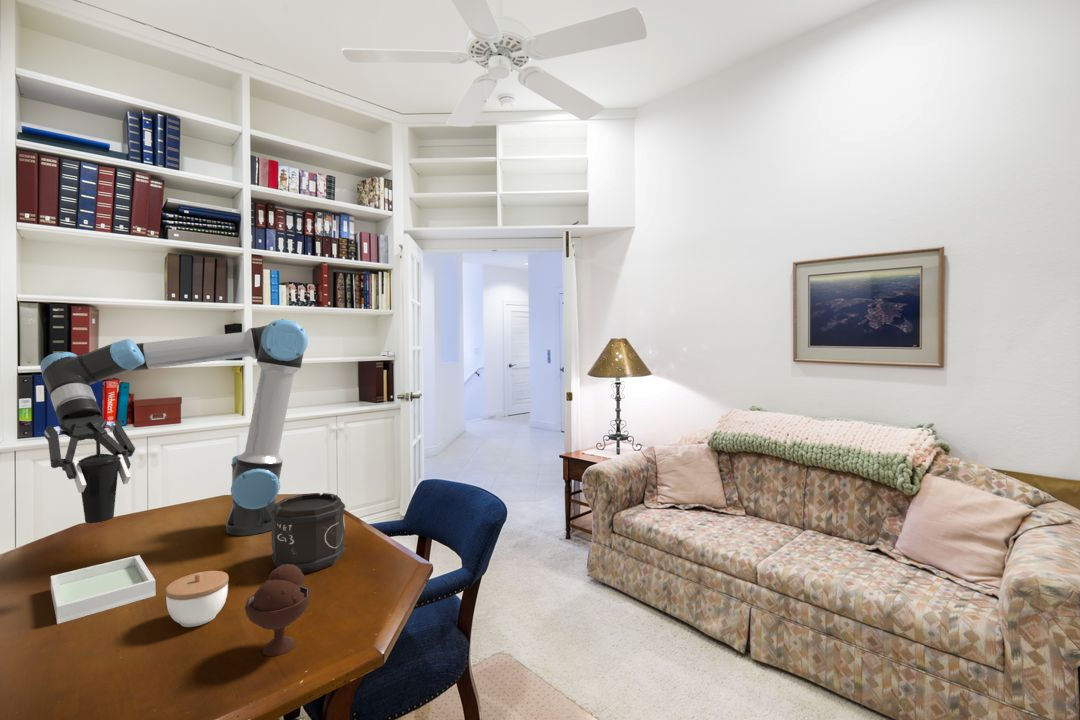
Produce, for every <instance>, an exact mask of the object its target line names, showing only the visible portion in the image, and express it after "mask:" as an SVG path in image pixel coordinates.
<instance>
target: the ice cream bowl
mask: <svg viewBox="0 0 1080 720" xmlns="http://www.w3.org/2000/svg"><path fill="white" fill-rule="evenodd" d="M305 578H306V576H305V575H304V573H302V571H301V570H300V569H299V568H298V567H297V566H295V565H291V564H286V565H281V566H279V567H277V566H276V568H274V569H273V570H272V571H271V572H270V573H269V575H268V579H267V580H265V582H263V583H262V584H261V586H259V588H258V589H257V590H256V591H255V592H254V594H253V595H251V596H250V597H248V598H247V600H246V603H245V606H244V611H245V615H246V617H247V618H248V620H249V621H251V622H252V623H253V624H254V625H256V626H258V627H260V628H262V629H265V630H270V631H273V634H274V635H273V638H272V639H271V640H270V641H268V642H267V643H266V644H264V647H263V650H262V654H263V655H264V656H266V657H278V656H282V655H284V654H287V653H289V652H290V651H291V650H293V649H294V648H295V647H296V639H295V638H293V637H291V636H289V635H288V636H287V635H285V629H286V627H288V626H290V625H291V624H292V623H294V622H295V621H296V620H297V619H299V618H300V617H301V615H303V614H304V613H305V612H306V610H307V607H308V606H309V603H310V599H311V598H310V597H311V587H308V586H306V585H303V582H304V580H305Z"/></svg>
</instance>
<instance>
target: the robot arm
mask: <svg viewBox="0 0 1080 720" xmlns="http://www.w3.org/2000/svg"><path fill="white" fill-rule="evenodd" d="M308 342H309V340H308V334H307V332H306V331H305V329H304V327H302V326H301V325H300V324H299V323H297V322H296V321H293V320H290V319H283V318H281V319H276V320H273V321H271V322H269V324H267V325H263V326H258V327H250V328H248V329H247V330H246V331H241V332H232V333H225V334H223V333H222V334H215V335H214V334H213V335H205V336H197V337H196V336H195V337H194V336H193V337H186V338H177V339H176V338H175V339H169V340H168V339H166V340H158V341H150V342H138V343H135V341H134V340H132V339H130V338H126V339H122V340H120V341H115V342H112V343H111V344H108V345H105V346H102V347H98V348H97V349H95V350H91V351H89V352H86V353H83V354H79V355H77V354H76V353H73V352H70V351H63V352H54V353H52V354H48V355H47V356H46V357H44V358H43V359H42V361H41V362H40V370H41V377H42V381H43V382H44V384H45V387H46V389H47V392H48V394H49V397H50V400H51V404H52V406H53V409H54V412H55V415H56V417H57V421H58V423H59V425H58V426H52V425H48V426H46V427H45V429H44V433H43V436H44V438H45V439H46V440H47V443H48V451H49V459H50V460H49V461H50V467H51V468H52V469H57V468H62V471H64V472H65V475H66V477H67V480H74V483H75V486H76V488H77V491H78V493H79V494H81V492H84V489H85V487H86V485H87V484H86V481H85V479H84V476H83V473H82V470H81V467H80V466H79V465H78V464H77V463H79V462H78V461H79V460H74V459H75V458H74V457H75V454H76V450H77V446H78V443H79V442H81V441H85V440H94V441H95V442H96V432H98V431H100V445H102V446H103V448H105V450H107V451H108V452H109V454H111V455H114V456H118V457H121V459H120V460H119V466H118V475H119V477H120V480H121V483H122V485H126V484H127V485H128V483H129V481H130V479H131V477H132V476H131V474H130V471H129V470H130V468H131V466H132V465H131V461H130V459H129V458H131V457H132V456H133V454H134V453H135V450H136V447H135V445H134V444H133V442H132V441H131V439H130V438H129V435H128V434H127V432H126V431H125V430H124V428H123V425H122V424H123V423H122V420H121V419H118V418H117V419H115V421H107V419H105V418H104V417H103V415H102V411H101V409H100V407H99V404H98V402H97V399H96V397H95V394H94V391H93V389H92V387H91V385H94V384H96V383H99V382H101V381H104V380H106V379H108V378H113V377H114V376H117V375H120V374H123V373H125V374H126V373H131V372H137V371H145V370H152V369H159V368H169V367H177V366H183V365H191V364H201V363H208V362H216V361H224V360H225V361H226V360H233V359H240V358H241V359H242V358H248V357H250V358H252V359H254V360H256V364H257V365H258V366H259V368H260V374H259V377H258V378H259V379H258V384H257V388H256V394H255V399H254V404H253V409H252V415H251V418H250V424H249V429H248V434H247V439H246V444H245V449H244V452H242V453H240V454H237V455H234V456H233V457H232V460H231V467H232V468H231V470H232V471H231V472H232V473H231V475H232V476H231V487H230V493H231V497H232V507H231V509H230V512H229V515H228V518H227V521H226V525H225V528H226V529H225V531H226V533H227V534H229V535H232V536H249V535H251V536H252V535H258V534H262V533H266V532H269V531H272V528H271V524H272V516H271V511H272V510H273V509H274V507H275V504H277V503H278V502H277V499H276V498H277V496H278V494H279V493H280V489H281V482H280V477H281V471H282V467H283V462H284V461H283V460H284V459H283V458H282V457H281V456H280V454H279V452H280V448H281V442H282V437H283V431H284V427H285V422H286V418H287V417H286V415H287V410H288V405H289V401H290V395H291V391H292V390H291V389H292V385H293V380H294V374H296V372H299V370H301V369H302V362H303V358H304V353H305V352H306V349H307V348H308ZM106 428H108V429H109V431H110V432H112V434H113V436H114V438H115V439H114V438H113V437H112V436H111V435H109V434H108V431H107V430H106ZM61 433H62V434H63V435H65V436H66V437H69V438H70V439H69V443H68V446H67V449H66V454H65V458H62V453H61V447H60V438H59V435H60V434H61Z"/></svg>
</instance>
